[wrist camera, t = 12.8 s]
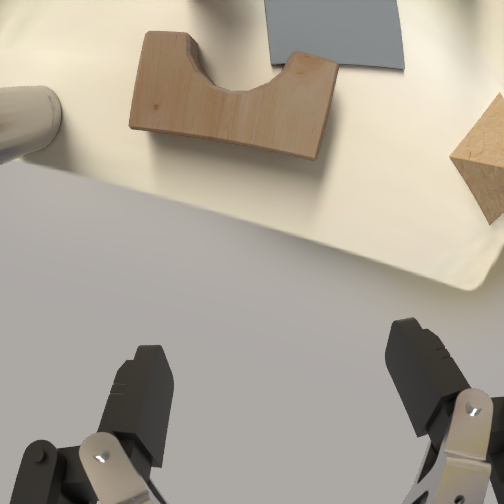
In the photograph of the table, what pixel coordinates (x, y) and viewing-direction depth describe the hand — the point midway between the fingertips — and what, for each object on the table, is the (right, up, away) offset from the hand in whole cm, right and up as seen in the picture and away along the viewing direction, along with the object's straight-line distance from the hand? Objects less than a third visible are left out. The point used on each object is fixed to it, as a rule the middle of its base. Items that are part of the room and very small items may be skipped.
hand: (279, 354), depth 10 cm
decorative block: (+7, +19, +21) cm, 29 cm away
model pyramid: (+38, +19, +27) cm, 50 cm away
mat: (+9, +36, +16) cm, 40 cm away
